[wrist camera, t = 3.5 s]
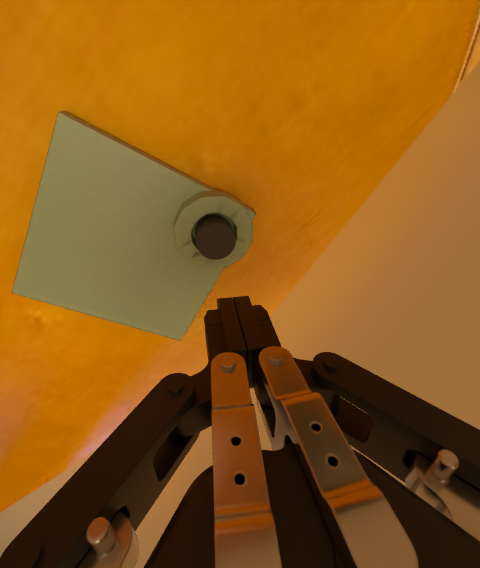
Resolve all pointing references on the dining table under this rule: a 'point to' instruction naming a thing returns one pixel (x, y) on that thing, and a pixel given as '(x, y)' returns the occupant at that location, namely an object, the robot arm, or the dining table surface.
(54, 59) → the dining table surface
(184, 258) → the scale
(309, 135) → the dining table surface
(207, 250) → the tare button
